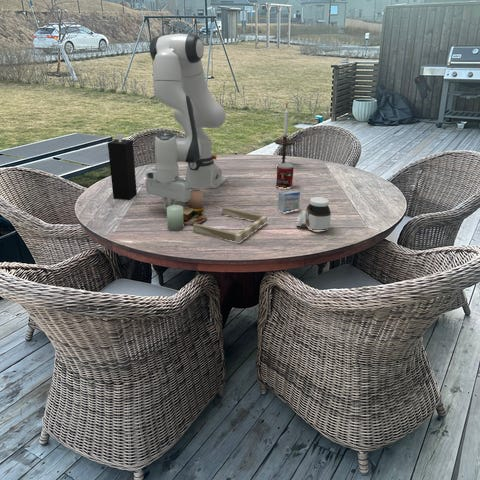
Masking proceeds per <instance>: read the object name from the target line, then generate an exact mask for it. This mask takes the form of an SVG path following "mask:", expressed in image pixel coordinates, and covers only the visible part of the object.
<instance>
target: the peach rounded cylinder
mask: <svg viewBox="0 0 480 480" xmlns="http://www.w3.org/2000/svg"><path fill="white" fill-rule="evenodd" d="M190 193H191V199H190V200H189V201H188V207H189V208H192V209H203V208H204V195H203V194H204V192H203V189H190Z"/></svg>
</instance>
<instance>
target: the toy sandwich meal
mask: <svg viewBox="0 0 480 480" xmlns="http://www.w3.org/2000/svg"><path fill="white" fill-rule="evenodd" d="M179 205H180V206H182V207H183V220H184V226H185V225H187V226H193V224H195V223H196V224H199V223H200V224H201V223H204V222H205V221H206V220H207V215H206V214H204V210H205V208H204V207H203V208H202V209H192V208H189V206H186V205H185V206H184V205H181V204H179ZM203 221H204V222H203Z"/></svg>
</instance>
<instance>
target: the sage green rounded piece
mask: <svg viewBox="0 0 480 480" xmlns="http://www.w3.org/2000/svg"><path fill="white" fill-rule="evenodd" d="M180 205H181V204H173V205H171V206H168V207H167V208H166V216H167V217H166V220H167V229H168V230H169V231H174V232H176V231H177V232H178V231H182V230H183V229H185V228H184V227H185V225H184V220H183V207H182V206H183V205H181V206H180Z"/></svg>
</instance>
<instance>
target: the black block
mask: <svg viewBox="0 0 480 480" xmlns="http://www.w3.org/2000/svg"><path fill="white" fill-rule="evenodd" d="M116 137H117V139H113V140H110V141H109V142H108V141H107V150H108V159H109V167H110V178H111V189H112V196H113V197H112V199H114V200H122V201H123V200H124V201H131V200H132V199H134V197H136V196H137V195H138V192H137V191H138V190H137V177H136V168H135V167H136V166H135V154H134V153H135V152H134V140H133V139H123V137H124V134H121V133H116Z"/></svg>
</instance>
